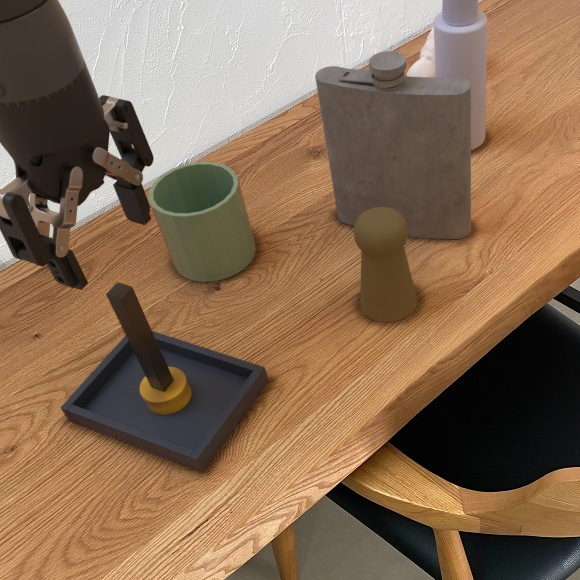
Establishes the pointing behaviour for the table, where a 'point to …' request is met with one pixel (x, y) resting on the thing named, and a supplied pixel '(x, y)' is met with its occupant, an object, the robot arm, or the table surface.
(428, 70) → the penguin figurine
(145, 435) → the tray
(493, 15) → the table surface
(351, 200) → the hip flask
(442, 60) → the spray bottle
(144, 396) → the brush
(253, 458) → the table surface
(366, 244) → the peg doll figure
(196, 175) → the beaker
